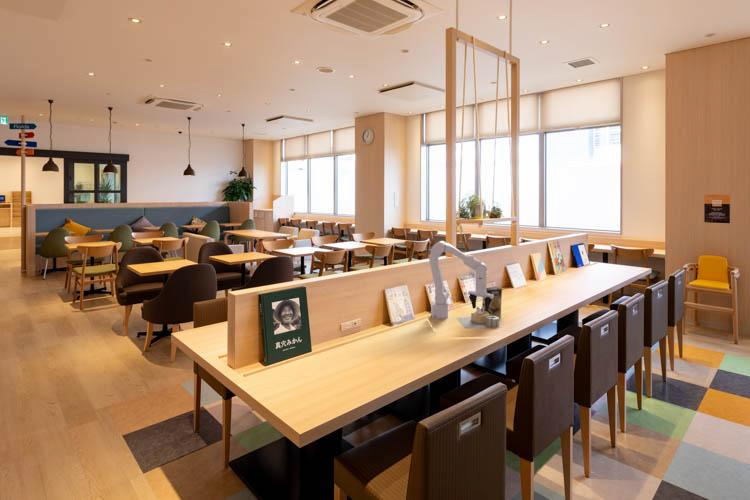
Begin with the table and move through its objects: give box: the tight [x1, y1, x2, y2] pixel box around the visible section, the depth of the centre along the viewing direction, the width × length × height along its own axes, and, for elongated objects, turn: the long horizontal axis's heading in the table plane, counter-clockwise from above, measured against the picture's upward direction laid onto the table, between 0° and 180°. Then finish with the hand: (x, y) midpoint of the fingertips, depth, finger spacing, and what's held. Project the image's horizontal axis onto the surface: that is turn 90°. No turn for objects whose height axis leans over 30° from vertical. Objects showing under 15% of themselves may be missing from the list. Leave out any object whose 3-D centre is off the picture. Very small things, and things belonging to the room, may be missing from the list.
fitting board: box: [456, 310, 504, 329], centre depth 246 cm, size 20×20×5 cm
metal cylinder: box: [475, 306, 484, 314], centre depth 250 cm, size 4×4×7 cm
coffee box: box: [481, 286, 503, 318], centre depth 262 cm, size 9×6×16 cm
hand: (480, 309), depth 249 cm, fingers open, 7 cm apart
